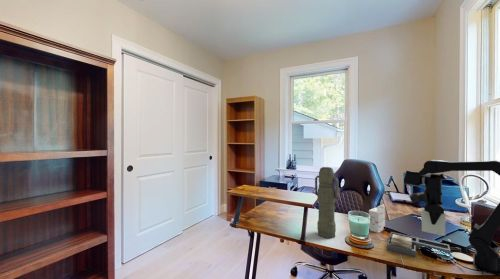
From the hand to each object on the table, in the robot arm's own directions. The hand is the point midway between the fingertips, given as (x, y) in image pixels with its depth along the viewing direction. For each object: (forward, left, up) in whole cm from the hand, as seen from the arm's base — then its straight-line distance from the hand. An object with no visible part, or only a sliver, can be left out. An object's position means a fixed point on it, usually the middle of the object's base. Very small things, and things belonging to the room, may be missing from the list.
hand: (433, 223), depth 97 cm
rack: (+5, +4, -13) cm, 14 cm away
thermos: (+43, +12, -13) cm, 46 cm away
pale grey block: (0, 0, -4) cm, 4 cm away
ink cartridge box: (+23, -9, -13) cm, 28 cm away
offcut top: (+11, +9, -8) cm, 16 cm away
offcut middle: (+11, +9, -10) cm, 17 cm away
